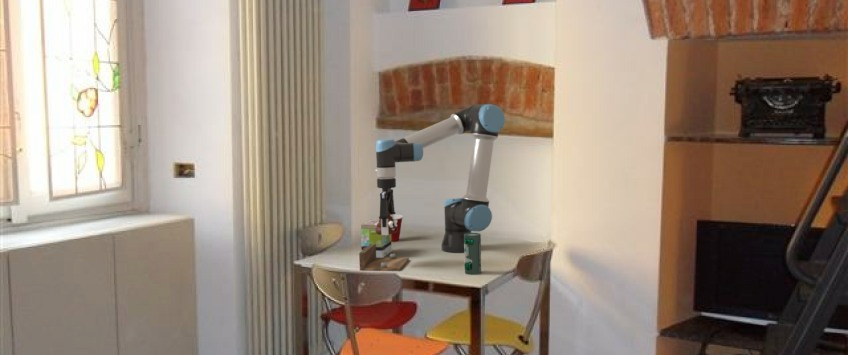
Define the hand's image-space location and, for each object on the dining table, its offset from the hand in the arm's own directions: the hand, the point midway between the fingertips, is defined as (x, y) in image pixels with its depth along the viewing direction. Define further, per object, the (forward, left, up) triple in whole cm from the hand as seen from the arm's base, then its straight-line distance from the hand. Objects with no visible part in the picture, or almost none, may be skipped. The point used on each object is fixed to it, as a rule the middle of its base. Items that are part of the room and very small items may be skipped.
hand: (387, 232), depth 302 cm
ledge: (+2, 0, -13) cm, 14 cm away
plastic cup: (+10, -53, -14) cm, 56 cm away
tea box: (+10, -20, -14) cm, 26 cm away
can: (-35, +11, -14) cm, 40 cm away
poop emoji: (0, 0, 0) cm, 1 cm away
